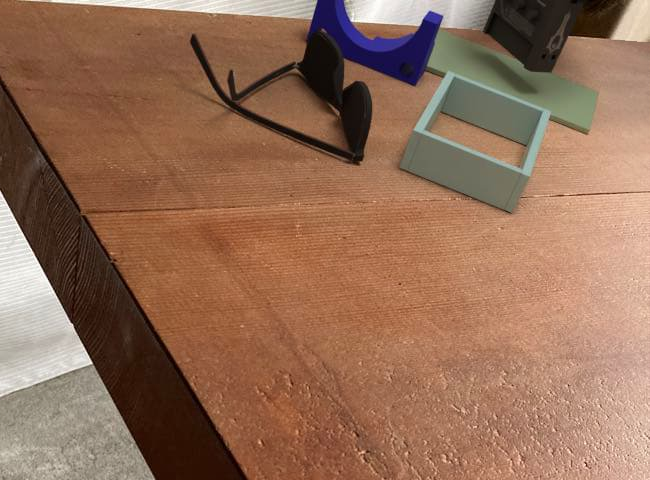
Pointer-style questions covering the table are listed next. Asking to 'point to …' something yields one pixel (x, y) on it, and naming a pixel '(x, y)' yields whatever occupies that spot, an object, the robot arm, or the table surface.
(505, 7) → the geiger counter
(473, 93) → the holder
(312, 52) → the sunglasses
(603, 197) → the table surface
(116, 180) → the table surface
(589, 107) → the mat
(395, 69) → the blue curved cradle stand
